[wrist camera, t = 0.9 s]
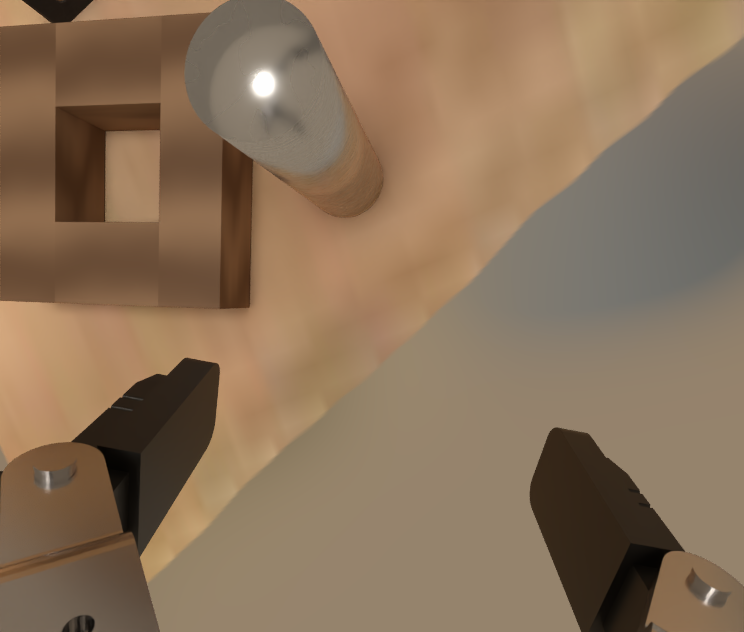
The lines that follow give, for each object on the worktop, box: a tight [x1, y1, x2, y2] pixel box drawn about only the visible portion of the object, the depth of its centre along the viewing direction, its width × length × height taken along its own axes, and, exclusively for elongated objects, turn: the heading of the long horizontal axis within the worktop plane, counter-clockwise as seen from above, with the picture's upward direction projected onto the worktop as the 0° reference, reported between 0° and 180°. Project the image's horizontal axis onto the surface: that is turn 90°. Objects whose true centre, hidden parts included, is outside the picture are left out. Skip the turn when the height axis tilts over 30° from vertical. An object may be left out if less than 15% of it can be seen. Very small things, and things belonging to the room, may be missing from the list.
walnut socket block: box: [0, 13, 252, 309], centre depth 29 cm, size 16×14×4 cm
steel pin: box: [184, 0, 383, 218], centre depth 22 cm, size 5×5×14 cm
